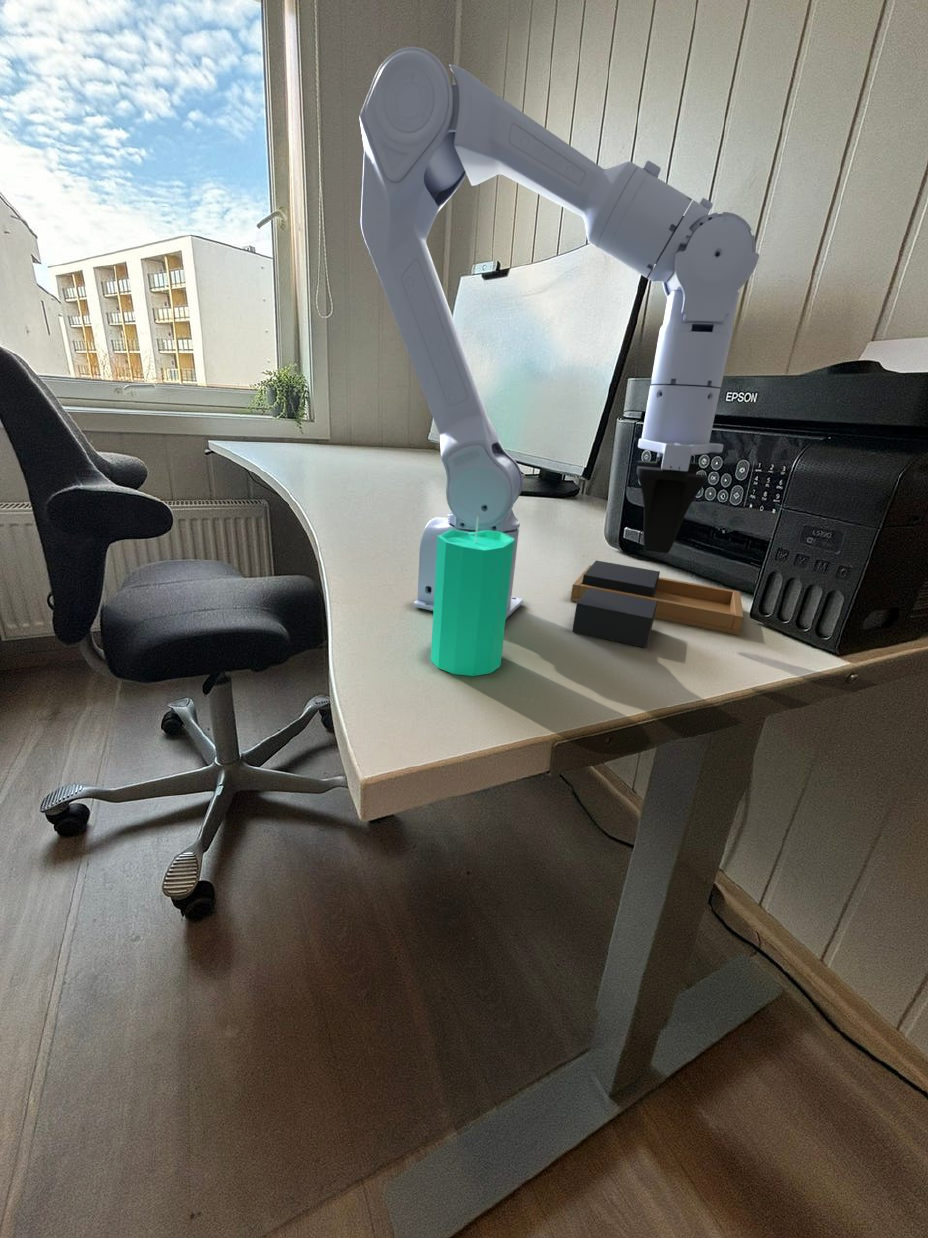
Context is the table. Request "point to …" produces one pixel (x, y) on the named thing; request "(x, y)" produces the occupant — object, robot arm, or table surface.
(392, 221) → the robot arm
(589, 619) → the pad
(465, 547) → the candle
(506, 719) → the table surface
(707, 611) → the frame
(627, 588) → the pad
